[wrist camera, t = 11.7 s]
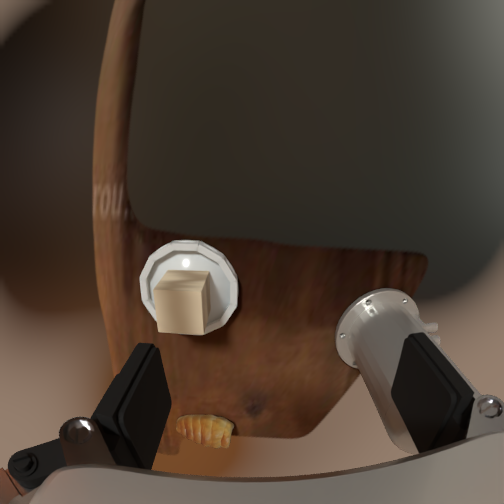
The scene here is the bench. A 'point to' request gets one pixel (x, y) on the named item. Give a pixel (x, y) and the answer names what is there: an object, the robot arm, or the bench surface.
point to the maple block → (183, 301)
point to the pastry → (206, 430)
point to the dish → (196, 259)
